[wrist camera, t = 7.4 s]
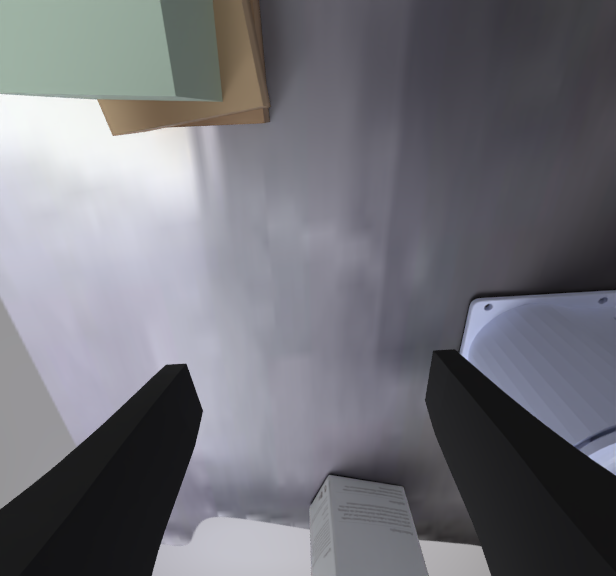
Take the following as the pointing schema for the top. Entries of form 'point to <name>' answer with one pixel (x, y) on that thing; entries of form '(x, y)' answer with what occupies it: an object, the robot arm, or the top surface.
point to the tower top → (233, 73)
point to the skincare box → (363, 530)
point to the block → (110, 49)
